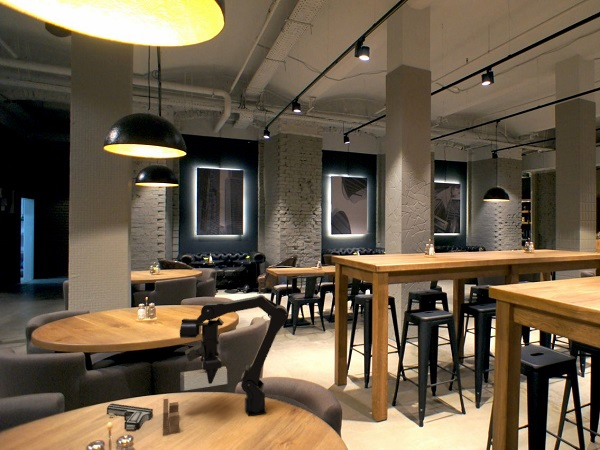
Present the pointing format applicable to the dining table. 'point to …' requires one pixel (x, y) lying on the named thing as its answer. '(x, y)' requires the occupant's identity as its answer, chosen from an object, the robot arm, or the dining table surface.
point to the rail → (202, 379)
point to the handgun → (131, 415)
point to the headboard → (170, 417)
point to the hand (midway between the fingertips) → (209, 381)
